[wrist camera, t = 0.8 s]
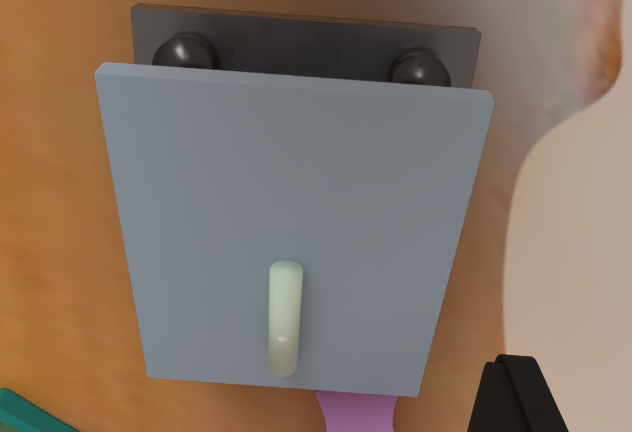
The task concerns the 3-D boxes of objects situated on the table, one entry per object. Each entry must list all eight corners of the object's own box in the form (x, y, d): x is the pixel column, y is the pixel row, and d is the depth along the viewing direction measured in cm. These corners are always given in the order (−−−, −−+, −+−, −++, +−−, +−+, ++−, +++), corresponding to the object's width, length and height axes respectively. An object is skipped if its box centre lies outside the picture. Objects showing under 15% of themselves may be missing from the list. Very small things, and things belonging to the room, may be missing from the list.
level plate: (103, 61, 24) (78, 90, 22) (489, 89, 24) (504, 122, 22) (152, 361, 35) (139, 401, 33) (415, 380, 35) (420, 421, 33)
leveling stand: (139, 3, 31) (94, 23, 25) (475, 28, 31) (506, 54, 25) (161, 319, 41) (133, 385, 35) (418, 337, 41) (431, 407, 35)
